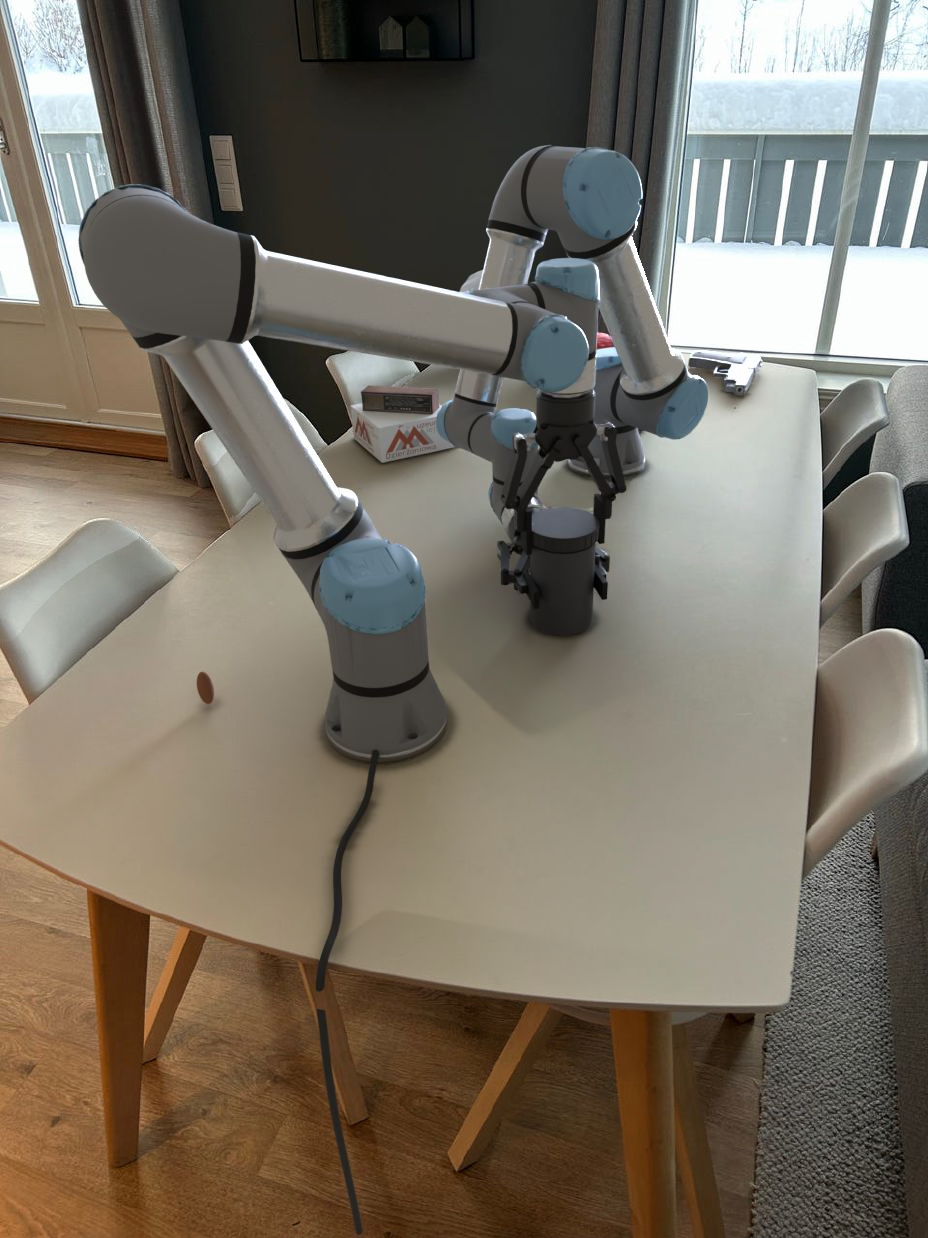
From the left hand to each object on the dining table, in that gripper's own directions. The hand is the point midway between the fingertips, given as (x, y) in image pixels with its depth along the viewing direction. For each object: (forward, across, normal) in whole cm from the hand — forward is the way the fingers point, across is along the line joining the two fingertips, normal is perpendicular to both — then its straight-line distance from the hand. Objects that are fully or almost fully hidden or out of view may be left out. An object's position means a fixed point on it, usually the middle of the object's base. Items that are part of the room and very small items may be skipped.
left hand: (562, 545), depth 127 cm
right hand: (+6, 0, -4) cm, 7 cm away
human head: (+12, +24, +130) cm, 132 cm away
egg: (+12, -51, -6) cm, 53 cm away
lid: (-3, 0, 0) cm, 3 cm away
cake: (+12, +47, +113) cm, 123 cm away
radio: (+12, -9, +79) cm, 81 cm away
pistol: (+12, +75, +97) cm, 123 cm away
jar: (+12, 0, 0) cm, 12 cm away
